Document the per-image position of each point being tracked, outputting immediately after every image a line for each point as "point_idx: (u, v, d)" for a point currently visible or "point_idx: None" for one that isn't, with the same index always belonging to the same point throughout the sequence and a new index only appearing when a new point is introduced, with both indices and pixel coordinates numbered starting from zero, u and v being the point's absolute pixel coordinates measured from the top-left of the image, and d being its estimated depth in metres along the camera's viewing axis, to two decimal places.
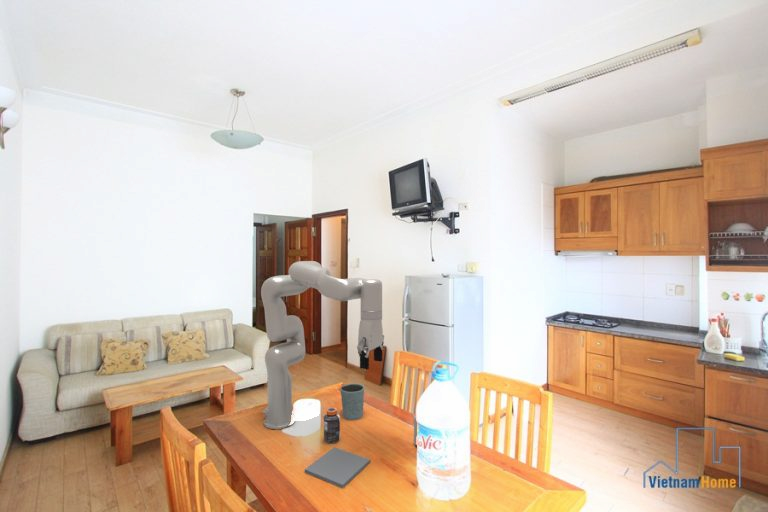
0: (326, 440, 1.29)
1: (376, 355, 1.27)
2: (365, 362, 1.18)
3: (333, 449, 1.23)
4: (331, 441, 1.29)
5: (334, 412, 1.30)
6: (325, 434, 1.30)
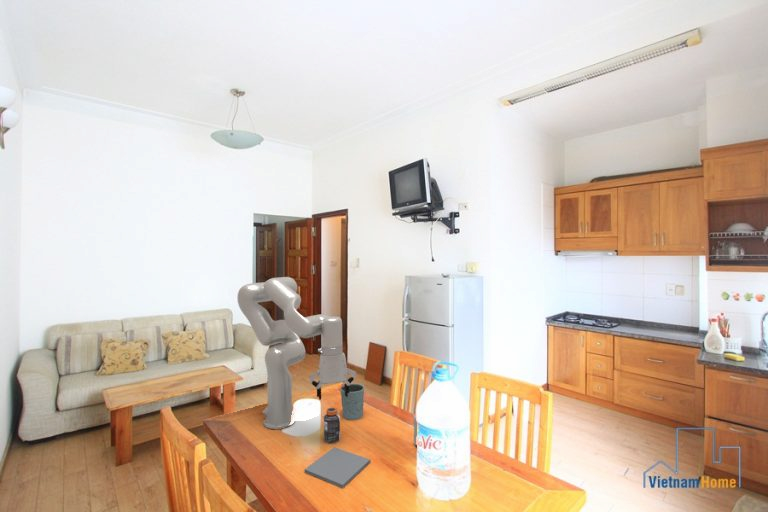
0: (326, 440, 1.29)
1: None
2: None
3: (333, 449, 1.23)
4: (331, 441, 1.29)
5: (334, 412, 1.30)
6: (325, 434, 1.30)
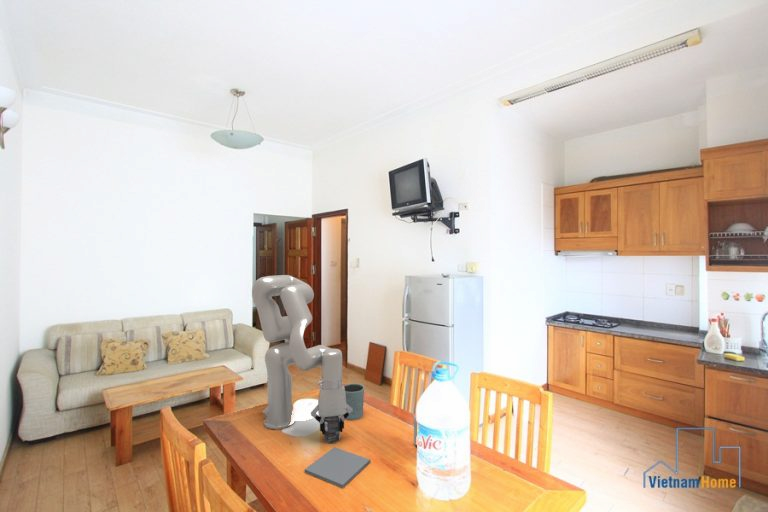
0: (326, 440, 1.29)
1: None
2: None
3: (333, 449, 1.23)
4: (331, 441, 1.29)
5: None
6: (325, 434, 1.30)
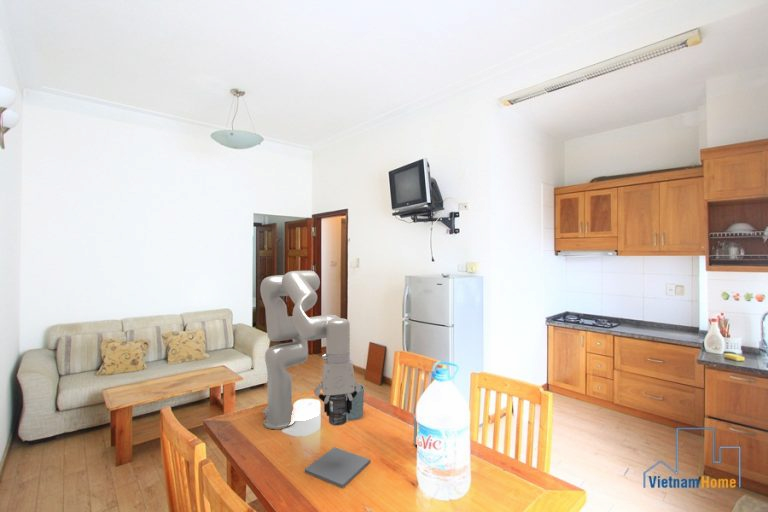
0: (331, 422, 1.12)
1: None
2: None
3: (333, 449, 1.23)
4: (337, 423, 1.12)
5: None
6: (331, 415, 1.13)
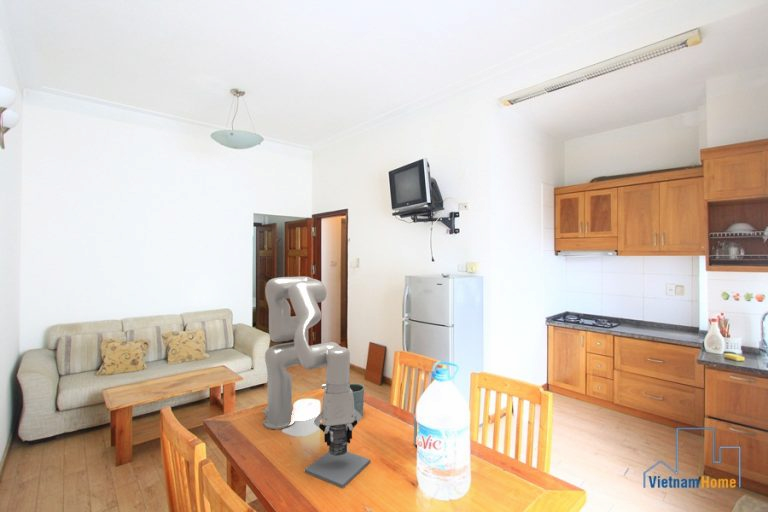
0: (332, 452, 1.12)
1: None
2: None
3: None
4: (337, 453, 1.12)
5: None
6: (331, 445, 1.12)
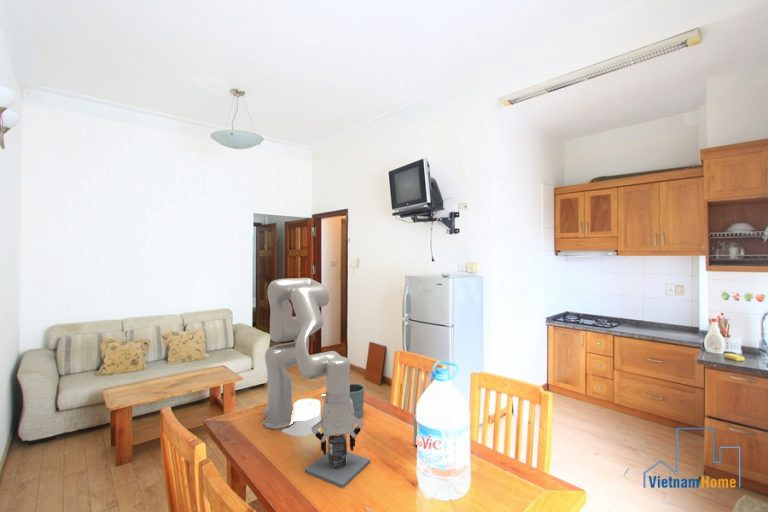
0: (331, 465, 1.12)
1: None
2: None
3: None
4: (337, 466, 1.12)
5: None
6: (330, 458, 1.13)
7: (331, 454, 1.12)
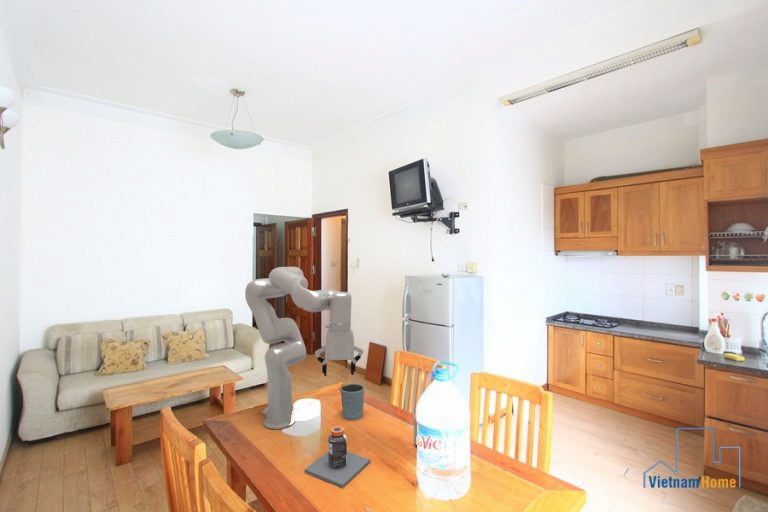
0: (331, 465, 1.12)
1: None
2: None
3: None
4: (337, 466, 1.12)
5: (340, 432, 1.13)
6: (330, 458, 1.13)
7: (331, 454, 1.12)
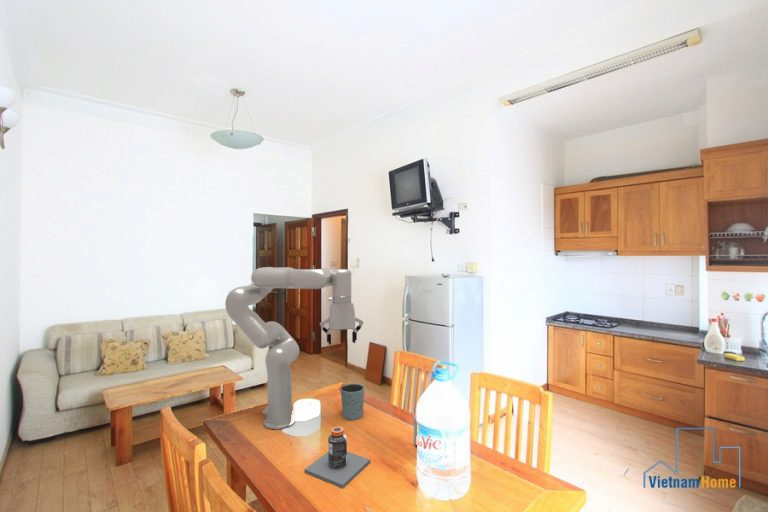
0: (331, 465, 1.12)
1: (330, 338, 1.40)
2: None
3: None
4: (337, 466, 1.12)
5: (340, 432, 1.13)
6: (330, 458, 1.13)
7: (331, 454, 1.12)
